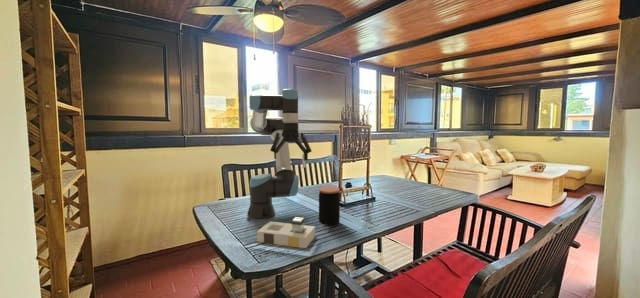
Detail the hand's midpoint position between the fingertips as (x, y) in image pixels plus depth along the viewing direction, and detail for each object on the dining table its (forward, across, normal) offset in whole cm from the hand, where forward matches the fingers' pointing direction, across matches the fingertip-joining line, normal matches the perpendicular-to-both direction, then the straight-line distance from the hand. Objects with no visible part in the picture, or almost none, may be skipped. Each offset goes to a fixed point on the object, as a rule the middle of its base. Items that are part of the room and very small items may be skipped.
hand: (290, 166), depth 132 cm
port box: (+31, +4, -15) cm, 34 cm away
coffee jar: (+31, +16, +12) cm, 37 cm away
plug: (+30, +9, -15) cm, 35 cm away
